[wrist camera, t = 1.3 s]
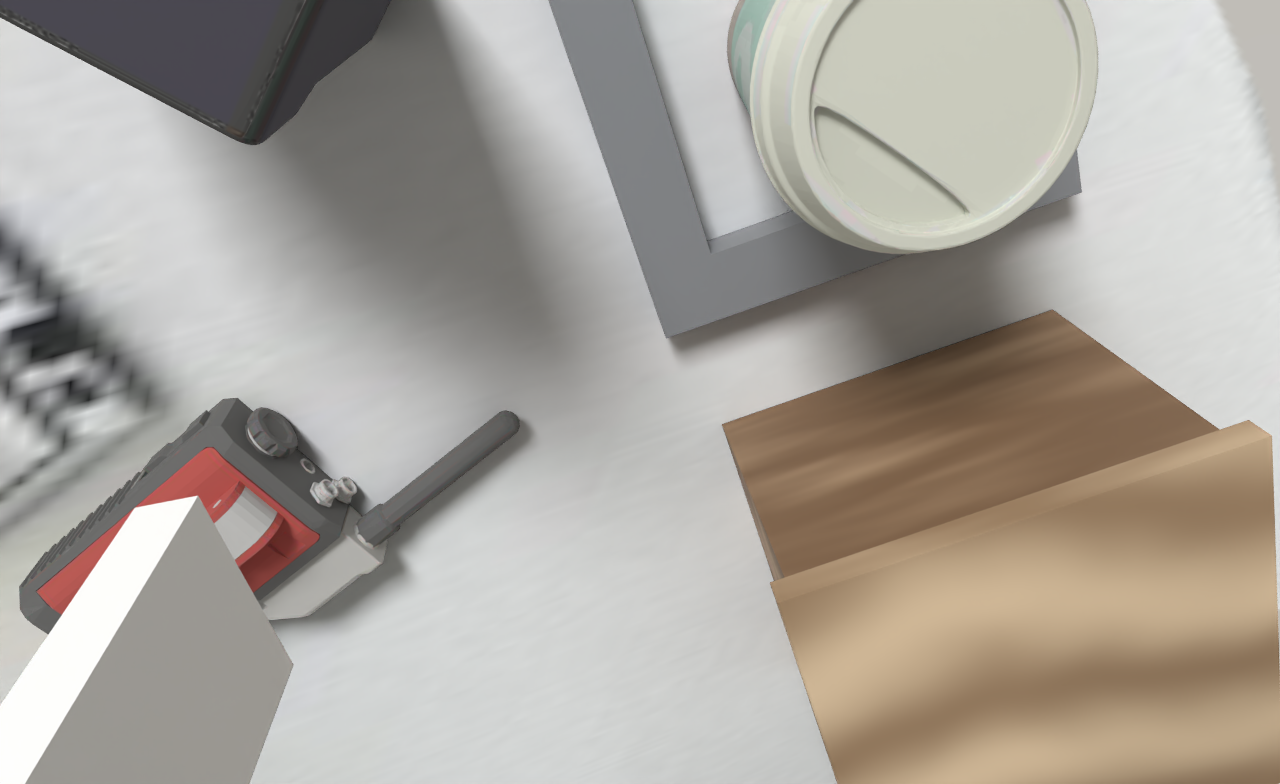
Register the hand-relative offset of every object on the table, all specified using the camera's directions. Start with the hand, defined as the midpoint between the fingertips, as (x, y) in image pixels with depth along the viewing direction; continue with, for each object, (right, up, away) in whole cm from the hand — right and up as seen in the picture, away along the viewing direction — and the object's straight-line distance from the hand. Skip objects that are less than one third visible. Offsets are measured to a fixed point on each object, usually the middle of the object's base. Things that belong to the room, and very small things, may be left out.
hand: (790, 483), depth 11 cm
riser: (+10, -4, +32) cm, 33 cm away
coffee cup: (+4, +13, +23) cm, 27 cm away
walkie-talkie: (-16, -3, +28) cm, 33 cm away
